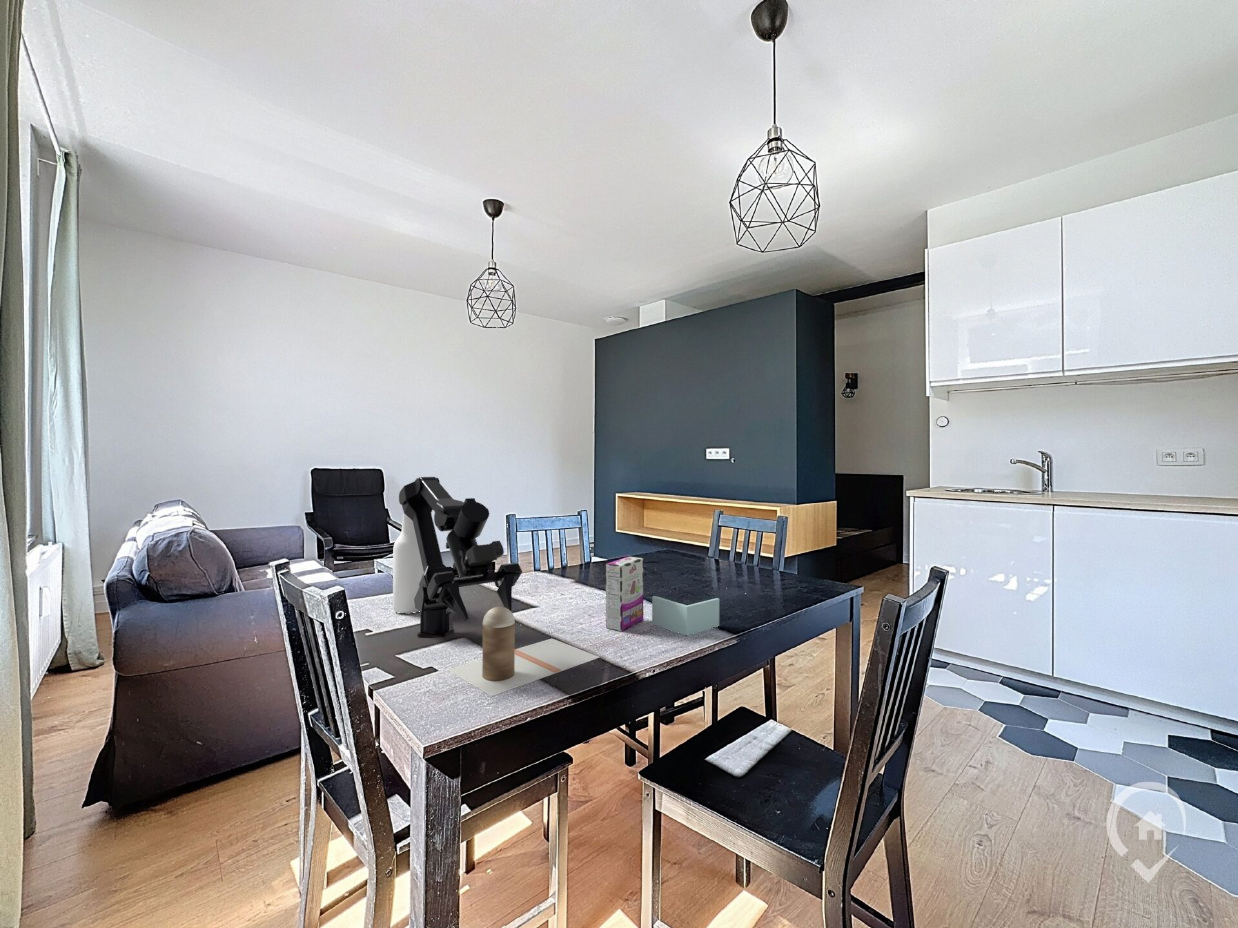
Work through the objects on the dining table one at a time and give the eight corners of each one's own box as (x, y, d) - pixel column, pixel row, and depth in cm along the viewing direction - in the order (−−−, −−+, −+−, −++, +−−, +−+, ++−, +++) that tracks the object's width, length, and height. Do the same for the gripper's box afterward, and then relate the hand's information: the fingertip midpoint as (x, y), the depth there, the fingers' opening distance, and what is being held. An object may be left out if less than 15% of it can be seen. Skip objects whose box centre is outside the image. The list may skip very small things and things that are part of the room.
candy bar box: (627, 617, 144) (628, 555, 143) (643, 620, 141) (644, 557, 141) (604, 628, 134) (604, 562, 134) (621, 632, 131) (622, 565, 131)
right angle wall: (719, 628, 137) (719, 598, 137) (686, 638, 129) (686, 606, 129) (684, 617, 146) (684, 589, 146) (652, 625, 139) (652, 596, 138)
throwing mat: (491, 700, 94) (491, 694, 94) (446, 673, 106) (447, 668, 106) (599, 660, 113) (599, 656, 113) (551, 641, 124) (551, 637, 124)
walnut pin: (478, 680, 101) (478, 611, 100) (487, 667, 107) (487, 602, 106) (510, 681, 100) (510, 612, 100) (517, 668, 106) (518, 603, 106)
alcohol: (393, 616, 142) (393, 502, 142) (393, 607, 150) (393, 499, 150) (428, 612, 146) (428, 501, 145) (426, 604, 154) (426, 499, 153)
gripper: (432, 532, 105) (455, 601, 96) (518, 525, 116) (545, 585, 108) (418, 566, 111) (438, 633, 102) (501, 556, 123) (525, 616, 114)
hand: (489, 616), depth 107 cm, fingers open, 9 cm apart
